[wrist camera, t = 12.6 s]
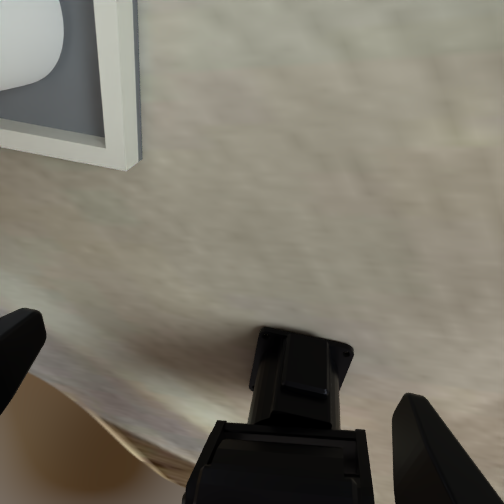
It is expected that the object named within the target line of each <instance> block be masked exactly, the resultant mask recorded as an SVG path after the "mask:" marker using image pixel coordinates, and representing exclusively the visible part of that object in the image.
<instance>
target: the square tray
mask: <svg viewBox="0 0 504 504" xmlns="http://www.w3.org/2000/svg"><path fill="white" fill-rule="evenodd" d="M59 2H60V6H61V11H62V16H63V25H64V38H63V46H62V50H61V54H60V57H59V59H58V61H57V63H56V65H55V67H54V68H53V70H52V71H51V72H50V73H49V74H48V75H47V76H46V77H44V78H43V79H41V80H39V81H37V82H34V83H31V84H28V85H24V86H20V87H15V88H11V89H7V90H2V91H0V147H2V148H7V149H13V150H18V151H23V152H28V153H34V154H39V155H44V156H49V157H54V158H60V159H65V160H70V161H75V162H80V163H86V164H91V165H96V166H101V167H107V168H112V169H117V170H122V171H127V170H129V169H130V168H131V167H132V166H134V165H135V164H136V163H138V162H139V161H140V160H142V134H141V102H140V71H139V40H138V9H137V0H59Z"/></svg>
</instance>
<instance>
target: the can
mask: <svg viewBox="0 0 504 504" xmlns="http://www.w3.org/2000/svg"><path fill="white" fill-rule="evenodd" d="M63 38H64V25H63V16H62V11H61V6H60V2H59V0H0V91H2V90H7V89H11V88H15V87H20V86H24V85H28V84H31V83H34V82H37V81H39V80H41V79H43V78H44V77H46V76H47V75H48V74H49V73H50V72H51V71H52V70H53V68H54V67H55V65H56V63H57V61H58V59H59V57H60V54H61V50H62V46H63Z"/></svg>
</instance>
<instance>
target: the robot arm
mask: <svg viewBox="0 0 504 504" xmlns="http://www.w3.org/2000/svg"><path fill="white" fill-rule="evenodd" d="M264 334H268V335H264ZM45 340H46V330H45V325H44V321H43V317H42V314H41V313H40V312H39V311H38V310H33V309H29V308H21V309H18V310H16V311H14V312H12V313H9V314H7V315H5V316H3V317H1V318H0V415H1V414H2V412H3V411H4V409H5V408H6V406H7V405H8V404H9V402H10V401H11V399H12V398H13V396H14V395H15V393H16V391H17V390H18V388H19V386H20V385H21V383H22V381H23V379H24V378H25V376H26V374H27V373H28V371H29V369H30V367H31V366H32V364H33V362H34V360H35V359H36V357H37V355H38V354H39V352H40V350H41V348H42V347H43V345H44V343H45ZM345 352H347V353H345ZM353 356H354V350H353V347H351V346H350V345H346V344H342V343H337V342H333V341H328V340H323V339H319V338H314V337H309V336H305V335H300V334H296V333H291V332H286V331H282V330H277V329H273V328H268V327H264V328H262V329H261V330H260V332H259V337H258V342H257V348H256V353H255V358H254V363H253V368H252V373H251V378H250V383H249V389H250V390H251V391H254V392H253V397H252V402H251V407H250V412H249V417H248V423H247V424H243V423H228V422H227V421H221V420H217V422H216V424H215V426H214V428H213V430H212V432H211V433H210V435H209V437H208V440H207V442H206V444H205V446H204V448H203V450H202V452H201V454H200V457H199V459H198V461H197V463H196V465H195V467H194V469H193V472H192V474H191V476H190V478H189V480H188V482H187V485H186V492H185V493H184V495H183V498H182V504H375V503H374V494H373V485H372V478H371V470H370V463H369V455H368V448H367V440H366V432H365V430H362V429H355V431H351V430H340V402H339V390H340V388H341V386H342V383H343V381H344V378H345V376H346V373H347V371H348V368H349V366H350V364H351V361H352V359H353ZM392 443H393V480H394V495H395V503H396V504H504V502H503V501H502V500H501V498H500V497H499V495H498V494H497V493H496V491H495V490H494V489H493V487H492V486H491V485H490V483H489V482H488V481H487V479H486V478H485V477H484V475H483V474H482V473H481V471H480V470H479V469H478V467H477V466H476V465H475V463H474V462H473V461H472V459H471V458H470V456H469V455H468V454H467V452H466V451H465V450H464V448H463V447H462V446H461V444H460V443H459V442H458V440H457V439H456V438H455V436H454V435H453V434H452V432H451V431H450V430H449V428H448V427H447V426H446V424H445V423H444V421H443V420H442V419H441V417H440V416H439V415H438V413H437V412H436V411H435V409H434V408H433V407H432V405H431V404H430V403H429V401H428V400H427V399H426V398H425V397H424V396H421V395H417V394H413V393H406V394H404V396H403V397H402V399H401V401H400V402H399V404H398V406H397V408H396V410H395V411H394V414H393V417H392Z"/></svg>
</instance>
